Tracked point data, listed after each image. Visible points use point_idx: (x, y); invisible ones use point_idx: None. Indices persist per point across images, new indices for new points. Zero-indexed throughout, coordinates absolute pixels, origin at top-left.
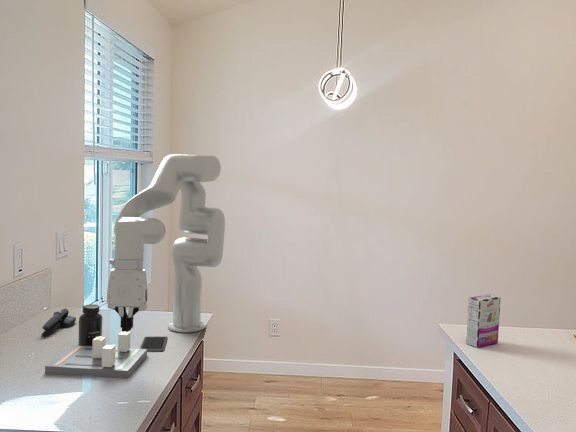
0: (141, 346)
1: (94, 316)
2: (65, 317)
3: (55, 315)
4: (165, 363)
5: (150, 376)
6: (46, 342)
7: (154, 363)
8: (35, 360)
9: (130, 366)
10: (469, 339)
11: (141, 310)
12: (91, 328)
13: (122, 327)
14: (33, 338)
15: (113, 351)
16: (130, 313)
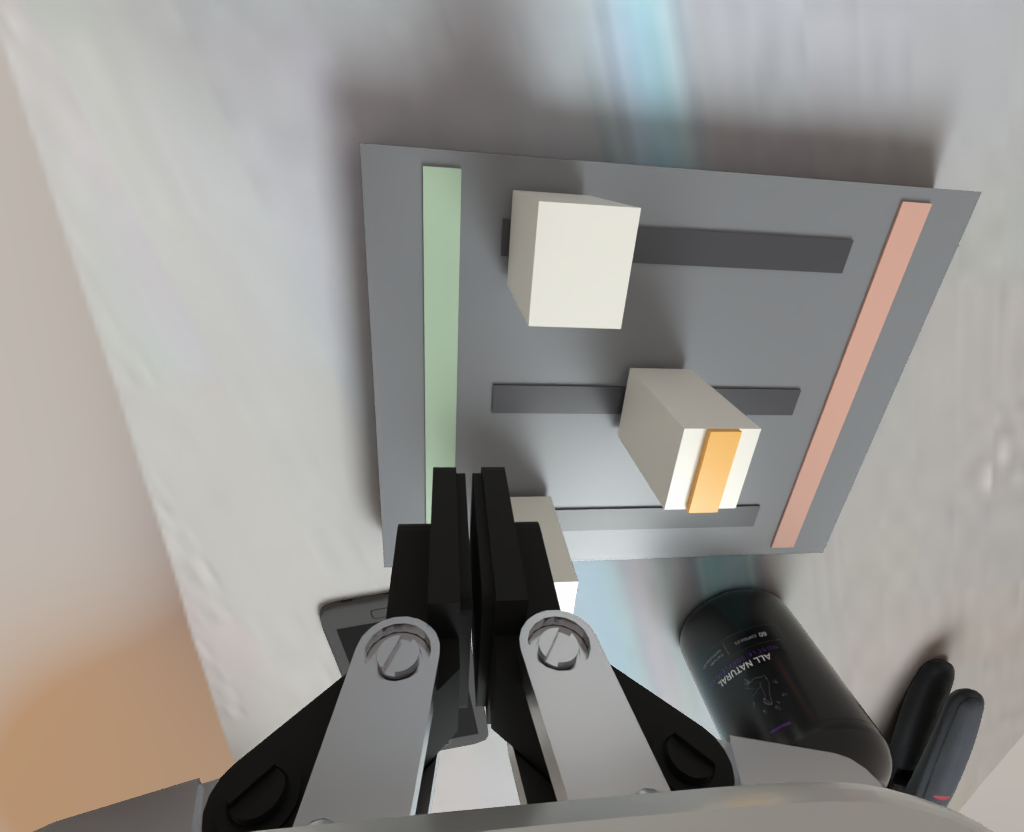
0: None
1: None
2: None
3: (947, 799)
4: (219, 448)
5: (208, 200)
6: (926, 607)
7: (292, 438)
8: (980, 391)
9: (374, 246)
10: None
11: (138, 809)
12: (778, 683)
13: (502, 494)
14: (980, 635)
15: (526, 258)
16: (382, 690)
